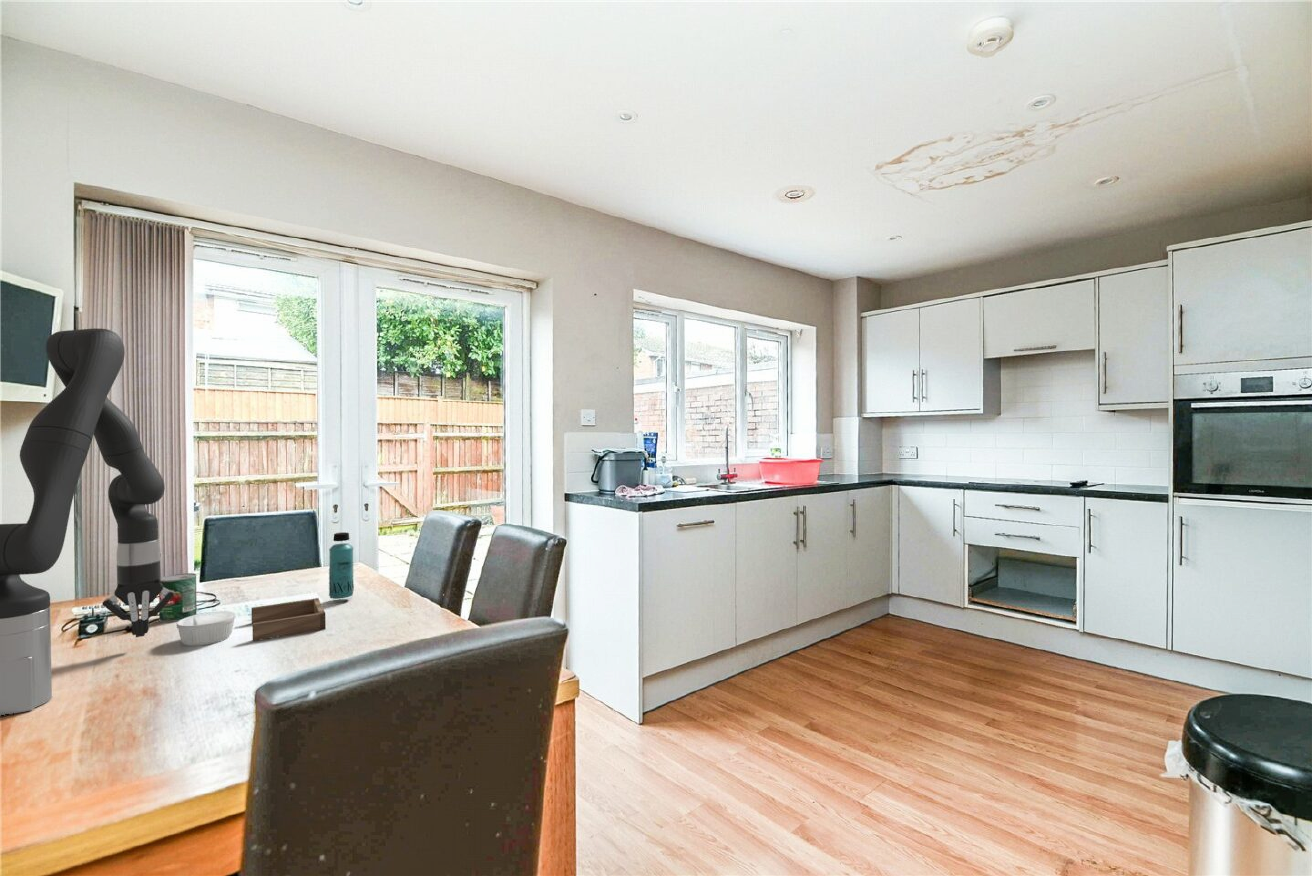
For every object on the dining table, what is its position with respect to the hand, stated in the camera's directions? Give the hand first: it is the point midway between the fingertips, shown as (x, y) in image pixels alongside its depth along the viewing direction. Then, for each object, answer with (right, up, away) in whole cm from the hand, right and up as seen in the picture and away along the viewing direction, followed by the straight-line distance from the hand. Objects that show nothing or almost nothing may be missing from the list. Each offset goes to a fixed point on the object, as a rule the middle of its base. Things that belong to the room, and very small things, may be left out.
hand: (140, 635), depth 137 cm
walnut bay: (+23, -3, +16) cm, 28 cm away
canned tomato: (-10, -3, +23) cm, 25 cm away
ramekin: (+10, -3, +7) cm, 13 cm away
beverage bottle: (+26, -3, +38) cm, 46 cm away
